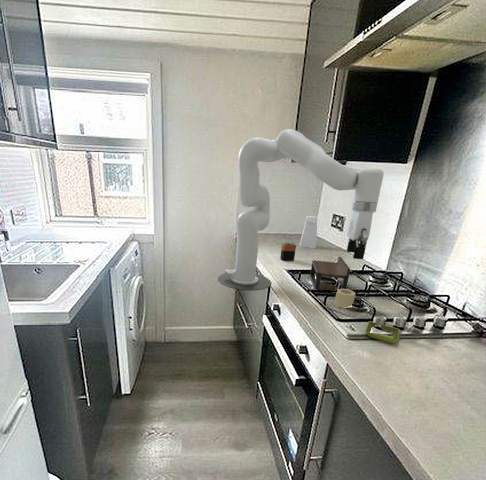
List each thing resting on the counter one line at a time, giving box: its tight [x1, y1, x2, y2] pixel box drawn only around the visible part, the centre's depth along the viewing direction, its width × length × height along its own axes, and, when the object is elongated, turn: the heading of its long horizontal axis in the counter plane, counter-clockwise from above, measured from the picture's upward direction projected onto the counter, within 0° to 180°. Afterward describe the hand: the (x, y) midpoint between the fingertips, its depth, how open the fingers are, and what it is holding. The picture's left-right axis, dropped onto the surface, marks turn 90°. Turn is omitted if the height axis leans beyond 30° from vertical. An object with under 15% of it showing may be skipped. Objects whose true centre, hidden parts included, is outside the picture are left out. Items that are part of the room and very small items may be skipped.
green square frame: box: [365, 320, 401, 344], centre depth 91 cm, size 9×9×2 cm
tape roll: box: [333, 288, 356, 309], centre depth 112 cm, size 6×6×6 cm
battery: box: [279, 241, 297, 262], centre depth 168 cm, size 4×7×10 cm, turn 96°
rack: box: [309, 256, 351, 291], centre depth 132 cm, size 12×20×11 cm, turn 168°
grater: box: [299, 215, 319, 249], centre depth 204 cm, size 10×10×20 cm
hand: (354, 255), depth 109 cm, fingers open, 9 cm apart
